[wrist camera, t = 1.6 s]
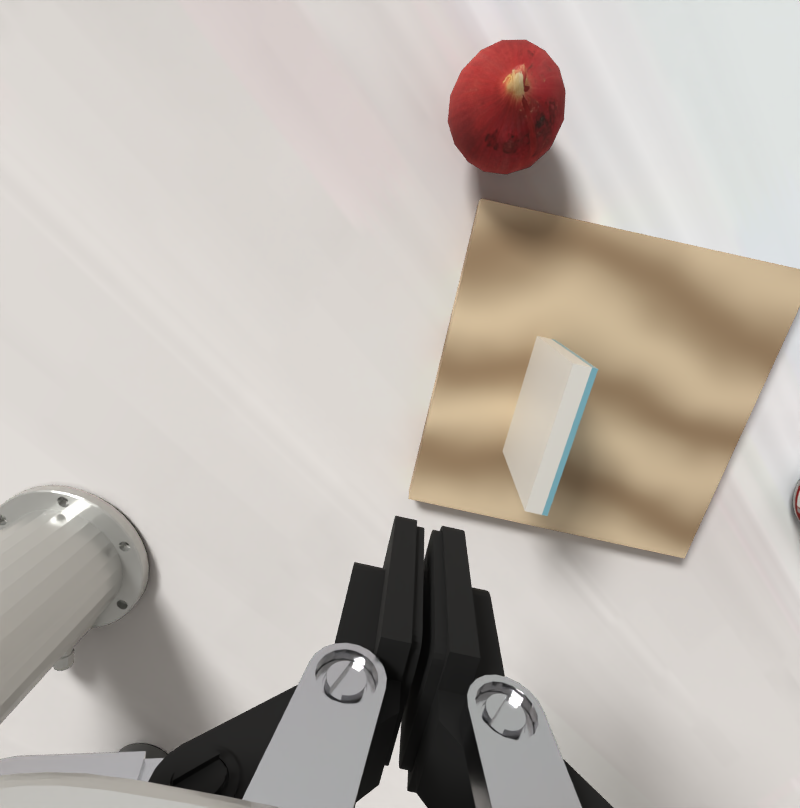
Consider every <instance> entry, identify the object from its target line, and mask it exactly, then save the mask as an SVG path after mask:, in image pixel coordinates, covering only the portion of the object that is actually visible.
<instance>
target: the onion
mask: <svg viewBox="0 0 800 808" xmlns="http://www.w3.org/2000/svg"><path fill="white" fill-rule="evenodd" d="M564 108H565V87H564V84H563V80H562V77H561V73H560V70H559V67H558V66H557V65H556V63H555V62H554V61H553V60H552V59H551V57H550V56H549V55H548V54H547V52H546V51H545V50H543V49H541V48H539V47H538V46H536V45H534V44H533V43H531V42H529V41H527V40H501V41H499V42H497V43H495V44H493V45H491V46H489V47H487V48H485V49H482V50H481V51H480V52H479V53H478V54H477V55H476V56H475V57H474V58H473V59H472V60H471V61H470V62H469V63H468V64H467V65H466V67H465V68H464V69H463V70H462V71H461V73H460V75H459V77H458V80H457V82H456V84H455V86H454V88H453V91H452V93H451V95H450V104H449V114H448V124H449V127H450V131H451V134H452V137H453V141H454V144H455V146H456V147H457V148H458V149H459V151H460V152H461V153H462V154H463V156H464V157H465V158H466V160H467V161H468V162H469V163H471V164H473V165H474V166H476V167H477V168H479V169H481V170H482V171H484V172H491V173H499V174H509V173H512V172H515V171H518V170H522V169H525V168H528V167H530V166H532V165H533V164H534V163H535V162H536V161H537V160H538V159H539V158H540V157H542V156H543V155H544V154H545V153H546V152H547V151H548V150H549V149H550V147H551V146H552V144H553V142H554V140H555V138H556V135H557V133H558V131H559V129H560V127H561V125H562V123H563V120H564Z"/></svg>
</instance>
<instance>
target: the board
mask: <svg viewBox="0 0 800 808" xmlns="http://www.w3.org/2000/svg"><path fill="white" fill-rule="evenodd" d="M799 307H800V269H796V268H792V267H787V266H783V265H778V264H774V263H769V262H765V261H760V260H756V259H751V258H747V257H742V256H738V255H733V254H729V253H724V252H720V251H715V250H711V249H706V248H702V247H697V246H693V245H688V244H684V243H679V242H675V241H670V240H666V239H661V238H657V237H652V236H648V235H643V234H639V233H634V232H630V231H625V230H621V229H616V228H612V227H607V226H603V225H598V224H594V223H589V222H585V221H581V220H576V219H572V218H567V217H563V216H558V215H554V214H549V213H545V212H540V211H536V210H531V209H527V208H522V207H518V206H513V205H509V204H504V203H500V202H495V201H491V200H486V199H482V198H481V199H480V200H479V202H478V207H477V211H476V215H475V219H474V223H473V227H472V232H471V236H470V240H469V244H468V248H467V252H466V256H465V261H464V265H463V269H462V273H461V277H460V281H459V285H458V290H457V294H456V298H455V302H454V306H453V310H452V314H451V319H450V323H449V327H448V331H447V335H446V339H445V344H444V348H443V352H442V356H441V360H440V364H439V368H438V373H437V377H436V381H435V385H434V389H433V393H432V397H431V402H430V406H429V410H428V414H427V418H426V422H425V426H424V431H423V435H422V439H421V443H420V447H419V451H418V456H417V460H416V464H415V468H414V472H413V476H412V480H411V485H410V489H409V499H412V500H416V501H421V502H425V503H430V504H435V505H439V506H444V507H449V508H453V509H458V510H462V511H467V512H472V513H476V514H481V515H486V516H490V517H495V518H500V519H504V520H509V521H513V522H518V523H523V524H527V525H532V526H537V527H541V528H546V529H550V530H555V531H560V532H564V533H569V534H574V535H578V536H583V537H587V538H592V539H597V540H601V541H606V542H611V543H615V544H620V545H624V546H629V547H634V548H638V549H643V550H648V551H652V552H657V553H661V554H666V555H671V556H675V557H680V558H685V556H686V554H687V552H688V549H689V547H690V545H691V543H692V541H693V539H694V536H695V534H696V532H697V530H698V528H699V525H700V523H701V521H702V519H703V517H704V515H705V512H706V510H707V508H708V506H709V504H710V501H711V499H712V497H713V495H714V493H715V490H716V488H717V486H718V484H719V482H720V480H721V477H722V475H723V473H724V471H725V469H726V466H727V464H728V462H729V460H730V458H731V456H732V453H733V451H734V449H735V447H736V445H737V442H738V440H739V438H740V436H741V434H742V432H743V429H744V427H745V425H746V423H747V421H748V418H749V416H750V414H751V412H752V410H753V407H754V405H755V403H756V401H757V399H758V397H759V394H760V392H761V390H762V388H763V386H764V383H765V381H766V379H767V377H768V375H769V373H770V370H771V368H772V366H773V364H774V362H775V359H776V357H777V355H778V353H779V351H780V348H781V346H782V344H783V342H784V340H785V338H786V335H787V333H788V331H789V329H790V327H791V324H792V322H793V320H794V318H795V316H796V314H797V311H798V309H799ZM537 336H540V337H545V338H550V339H554V340H557V341H558V342H560V343H561V344H562V345H564V346H565V347H567V348H568V349H570V350H571V351H573V352H574V353H576V354H577V355H579V356H580V357H581V358H583V359H584V360H586V361H587V362H589V363H590V364H592V365H593V366H595V367H596V368H598V371H597V374H596V377H595V380H594V383H593V386H592V389H591V391H590V394H589V397H588V400H587V403H586V406H585V409H584V412H583V415H582V418H581V420H580V423H579V426H578V429H577V432H576V435H575V438H574V441H573V444H572V447H571V449H570V452H569V455H568V458H567V461H566V464H565V467H564V470H563V473H562V476H561V478H560V481H559V484H558V487H557V490H556V493H555V496H554V499H553V502H552V504H551V507H550V510H549V513H548V516H545V515H540V514H535V513H531V512H526V511H525V510H524V507H523V505H522V502H521V499H520V497H519V494H518V491H517V489H516V486H515V483H514V481H513V478H512V475H511V473H510V470H509V467H508V465H507V462H506V459H505V457H504V454H503V448H504V444H505V441H506V438H507V434H508V431H509V428H510V424H511V421H512V418H513V414H514V411H515V408H516V404H517V401H518V398H519V394H520V391H521V387H522V384H523V381H524V377H525V374H526V371H527V367H528V364H529V361H530V357H531V354H532V351H533V347H534V344H535V341H536V337H537Z"/></svg>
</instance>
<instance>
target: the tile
mask: <svg viewBox="0 0 800 808" xmlns="http://www.w3.org/2000/svg"><path fill="white" fill-rule="evenodd" d="M597 371H598V368H596V367H595V366H593V365H592V364H590V363H589V362H587V361H586V360H584V359H583V358H581V357H580V356H579V355H577V354H576V353H574V352H573V351H571V350H570V349H568V348H567V347H565V346H564V345H562V344H561V343H560V342H558V341H557V340H554V339H550V338H545V337H540V336H537V337H536V341H535V344H534V347H533V351H532V354H531V357H530V361H529V364H528V367H527V371H526V374H525V377H524V381H523V384H522V387H521V391H520V394H519V398H518V401H517V404H516V408H515V411H514V414H513V418H512V421H511V424H510V428H509V431H508V434H507V438H506V441H505V444H504V448H503V454H504V457H505V459H506V462H507V465H508V467H509V470H510V473H511V475H512V478H513V481H514V483H515V486H516V489H517V491H518V494H519V497H520V499H521V502H522V505H523V507H524V510H525V511H526V512H531V513H535V514H540V515H545V516H548V513H549V510H550V507H551V504H552V502H553V499H554V496H555V493H556V490H557V487H558V484H559V481H560V478H561V476H562V473H563V470H564V467H565V464H566V461H567V458H568V455H569V452H570V449H571V447H572V444H573V441H574V438H575V435H576V432H577V429H578V426H579V423H580V420H581V418H582V415H583V412H584V409H585V406H586V403H587V400H588V397H589V394H590V391H591V389H592V386H593V383H594V380H595V377H596V374H597Z"/></svg>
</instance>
